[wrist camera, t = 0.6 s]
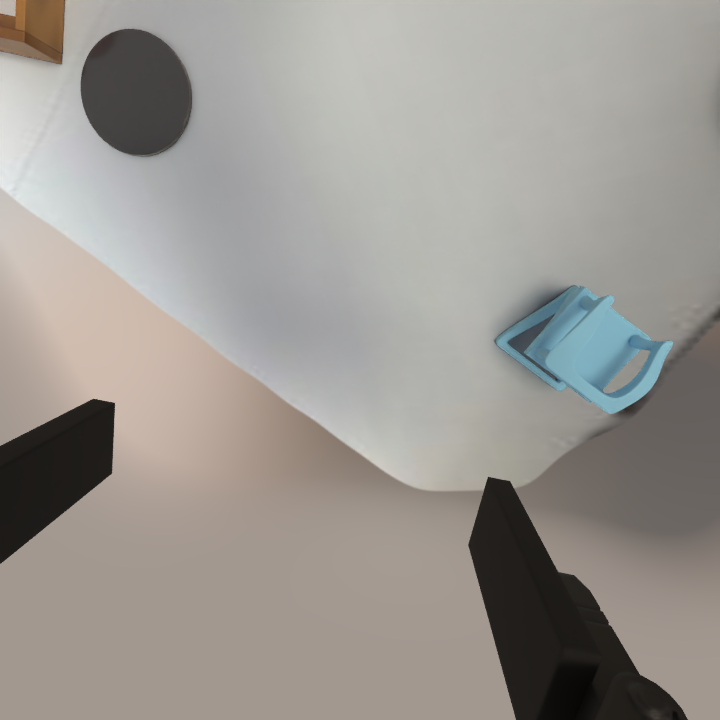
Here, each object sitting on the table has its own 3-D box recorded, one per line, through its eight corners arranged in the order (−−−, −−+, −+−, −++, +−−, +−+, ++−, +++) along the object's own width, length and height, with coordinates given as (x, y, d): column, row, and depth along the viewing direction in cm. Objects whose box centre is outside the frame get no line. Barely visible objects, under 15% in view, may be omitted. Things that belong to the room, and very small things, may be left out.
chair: (620, 320, 39) (713, 345, 28) (557, 390, 41) (619, 441, 30) (554, 269, 39) (620, 272, 27) (492, 342, 41) (530, 374, 29)
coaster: (88, 20, 38) (84, 17, 37) (198, 44, 37) (196, 41, 37) (80, 143, 40) (77, 142, 40) (184, 166, 40) (182, 165, 39)
